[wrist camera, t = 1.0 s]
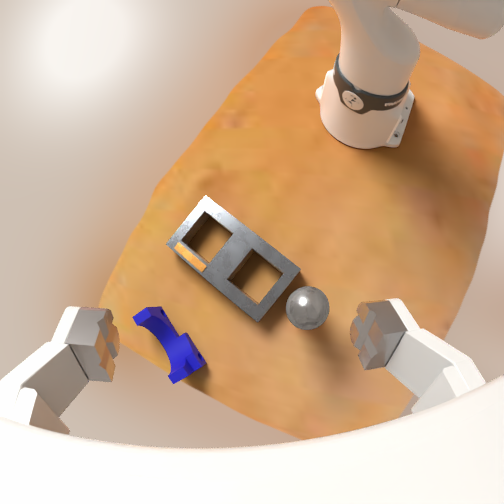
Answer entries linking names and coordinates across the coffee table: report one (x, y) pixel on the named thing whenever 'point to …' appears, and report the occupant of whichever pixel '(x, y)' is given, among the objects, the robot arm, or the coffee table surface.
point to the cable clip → (171, 343)
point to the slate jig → (231, 257)
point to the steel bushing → (307, 308)
